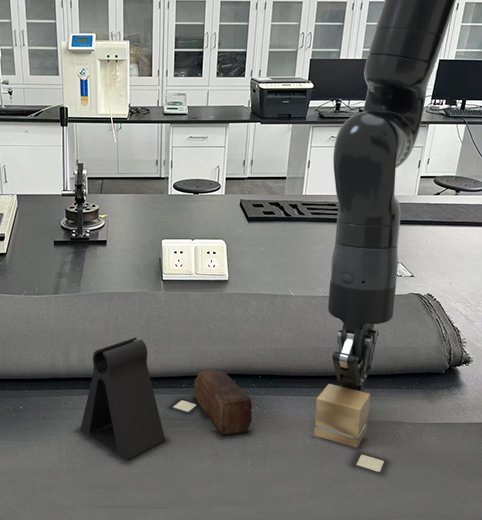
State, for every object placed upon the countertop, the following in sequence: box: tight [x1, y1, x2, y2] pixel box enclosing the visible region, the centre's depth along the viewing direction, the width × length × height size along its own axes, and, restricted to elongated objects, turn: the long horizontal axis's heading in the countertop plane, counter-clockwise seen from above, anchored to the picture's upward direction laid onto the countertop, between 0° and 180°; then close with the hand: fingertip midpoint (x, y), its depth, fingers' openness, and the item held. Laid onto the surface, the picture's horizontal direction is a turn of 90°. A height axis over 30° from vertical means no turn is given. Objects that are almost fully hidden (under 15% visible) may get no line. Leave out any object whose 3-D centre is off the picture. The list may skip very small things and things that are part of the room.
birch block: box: [313, 383, 371, 448], centre depth 65 cm, size 5×5×5 cm
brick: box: [193, 369, 253, 436], centre depth 70 cm, size 11×4×5 cm, turn 13°
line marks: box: [172, 399, 385, 473], centre depth 66 cm, size 26×2×1 cm, turn 55°
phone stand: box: [79, 337, 166, 462], centre depth 64 cm, size 9×6×12 cm, turn 42°
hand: (351, 407), depth 69 cm, fingers closed
